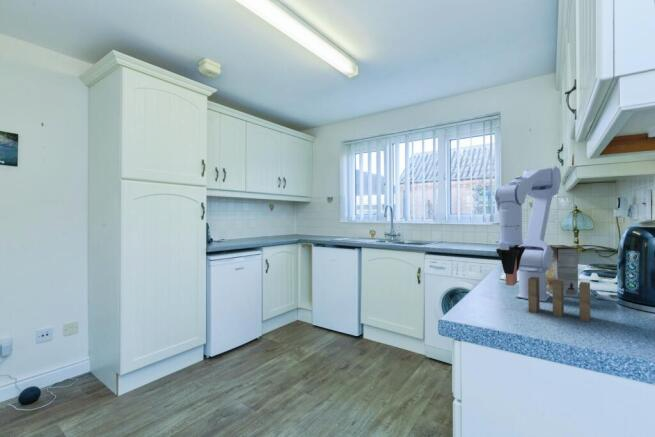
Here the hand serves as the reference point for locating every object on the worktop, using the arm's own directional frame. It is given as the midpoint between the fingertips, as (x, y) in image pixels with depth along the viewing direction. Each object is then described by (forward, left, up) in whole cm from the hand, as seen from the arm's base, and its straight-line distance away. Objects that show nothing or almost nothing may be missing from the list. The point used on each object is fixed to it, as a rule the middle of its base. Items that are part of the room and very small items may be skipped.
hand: (511, 272), depth 89 cm
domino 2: (0, +6, -10) cm, 12 cm away
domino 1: (0, 0, -3) cm, 3 cm away
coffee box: (-27, +9, -10) cm, 30 cm away
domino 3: (0, +11, -10) cm, 15 cm away
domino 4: (0, +17, -10) cm, 19 cm away
